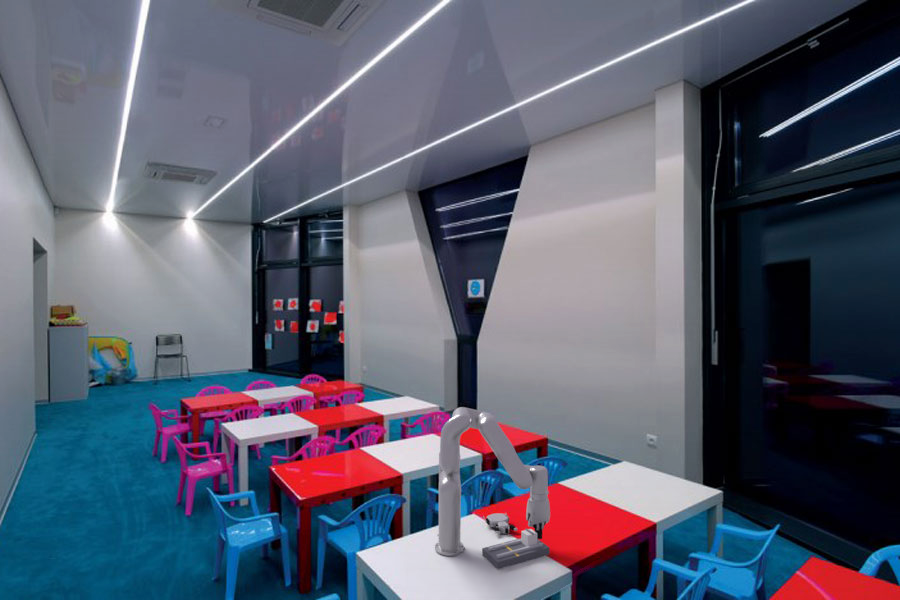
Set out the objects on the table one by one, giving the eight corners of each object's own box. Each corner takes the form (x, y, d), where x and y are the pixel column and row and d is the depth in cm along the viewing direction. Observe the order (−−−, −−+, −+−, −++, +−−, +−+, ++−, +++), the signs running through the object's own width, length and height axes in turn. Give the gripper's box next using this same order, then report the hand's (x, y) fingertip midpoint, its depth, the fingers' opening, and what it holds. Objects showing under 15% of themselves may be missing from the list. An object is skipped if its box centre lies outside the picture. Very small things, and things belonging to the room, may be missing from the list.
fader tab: (521, 542, 206) (521, 529, 206) (530, 540, 208) (530, 527, 208) (527, 547, 201) (528, 534, 201) (537, 544, 204) (537, 532, 204)
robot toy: (519, 535, 220) (504, 519, 234) (519, 526, 220) (505, 510, 234) (495, 540, 216) (482, 523, 230) (495, 530, 216) (482, 514, 230)
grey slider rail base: (482, 555, 201) (482, 545, 201) (532, 541, 213) (532, 532, 213) (497, 569, 190) (497, 559, 190) (549, 554, 202) (549, 545, 202)
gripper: (546, 489, 214) (546, 530, 214) (519, 495, 207) (519, 537, 207) (557, 495, 207) (557, 537, 207) (530, 501, 200) (529, 545, 200)
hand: (538, 537), depth 207 cm, fingers closed
